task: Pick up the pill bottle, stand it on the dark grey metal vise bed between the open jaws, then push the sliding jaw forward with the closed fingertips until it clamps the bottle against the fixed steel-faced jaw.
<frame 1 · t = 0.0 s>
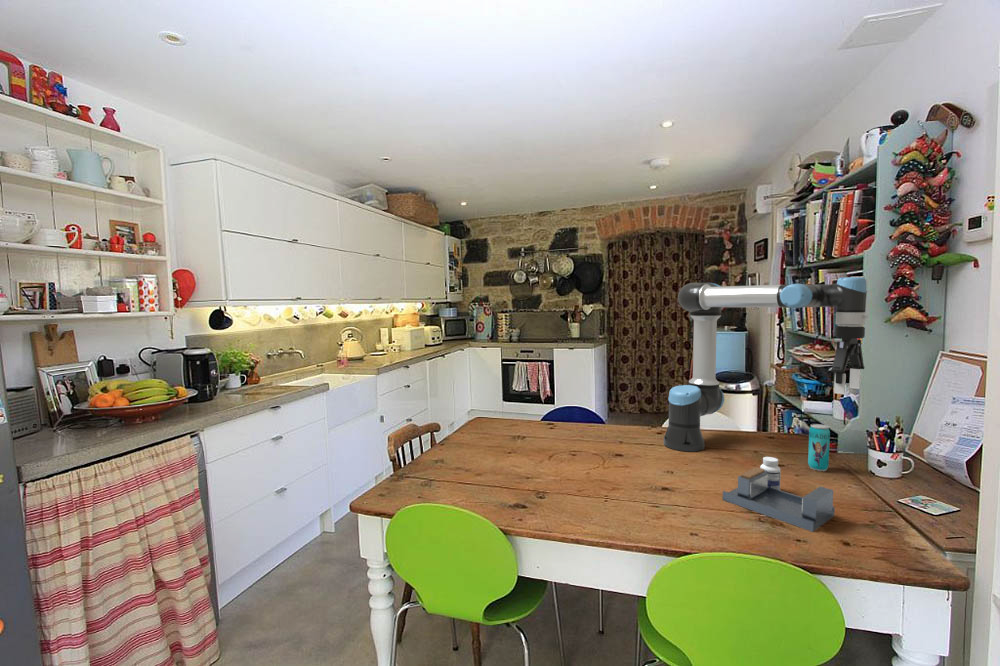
hand: (847, 391, 148), 28 cm above the table, fingers open, 13 cm apart
sliding jaw: (753, 483, 132), point 5 cm above the table, slide at 0.0 cm
vise bed: (776, 507, 127), on the table
pill bottle: (769, 490, 139), on the table
beverage can: (817, 469, 156), on the table
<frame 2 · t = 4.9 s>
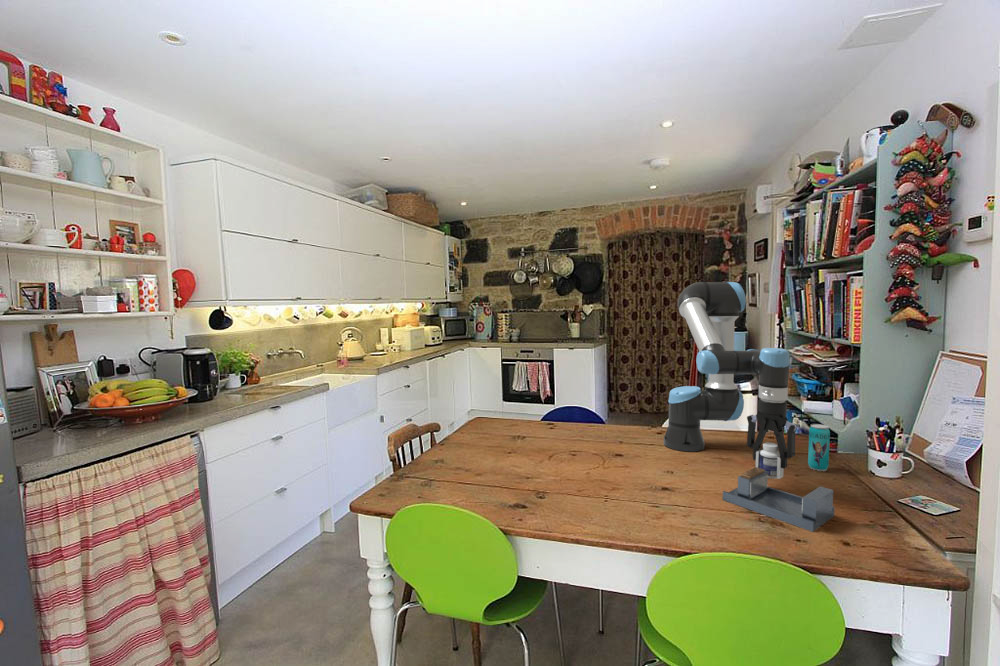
hand: (769, 474, 139), 5 cm above the table, fingers closed on pill bottle, 5 cm apart
pill bottle: (769, 475, 140), point 4 cm above the table, touching gripper
everything else where it was.
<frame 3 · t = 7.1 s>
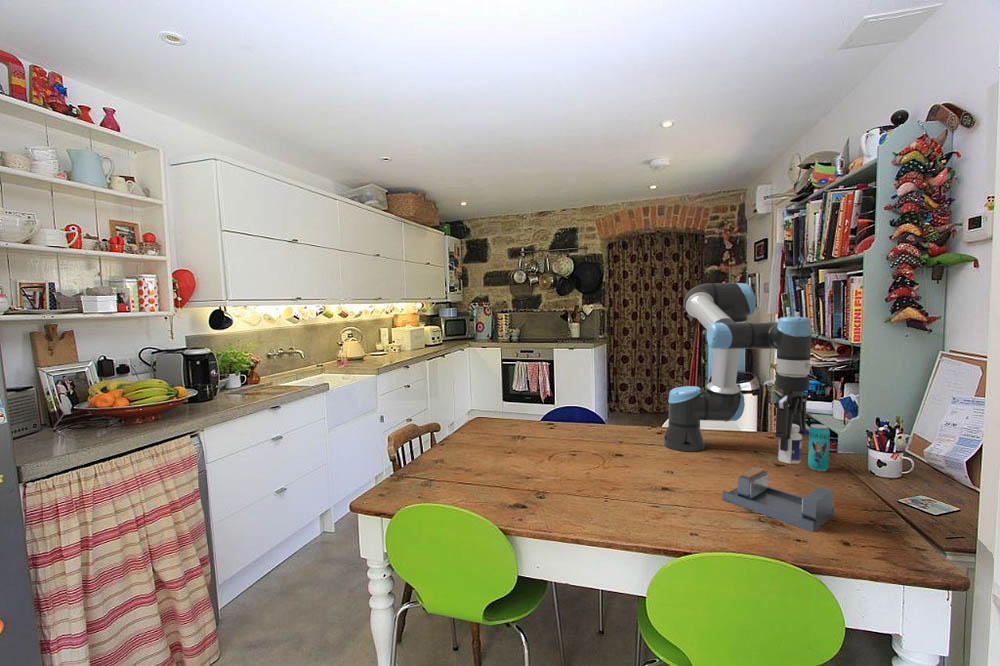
hand: (789, 459, 124), 15 cm above the table, fingers closed on pill bottle, 5 cm apart
pill bottle: (789, 461, 124), point 14 cm above the table, touching gripper
everything else where it was.
when the fingers open (3 cm above the table, at t = 9.4 s): pill bottle stays where it is, resting on vise bed.
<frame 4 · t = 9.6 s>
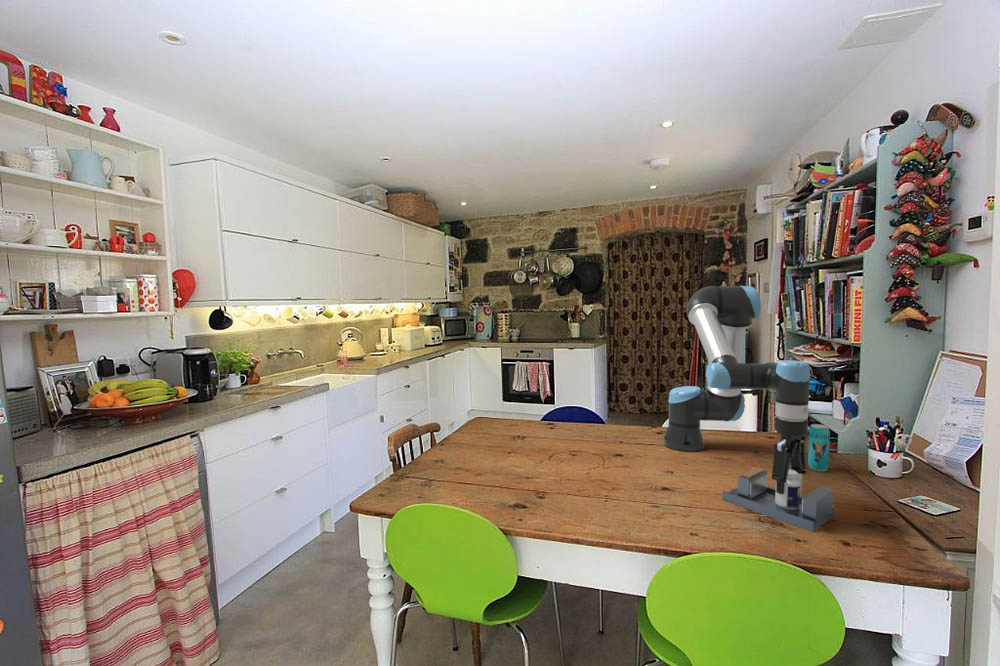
hand: (788, 500, 125), 3 cm above the table, fingers open, 8 cm apart
pill bottle: (787, 506, 125), point 1 cm above the table, touching vise bed
everything else where it was.
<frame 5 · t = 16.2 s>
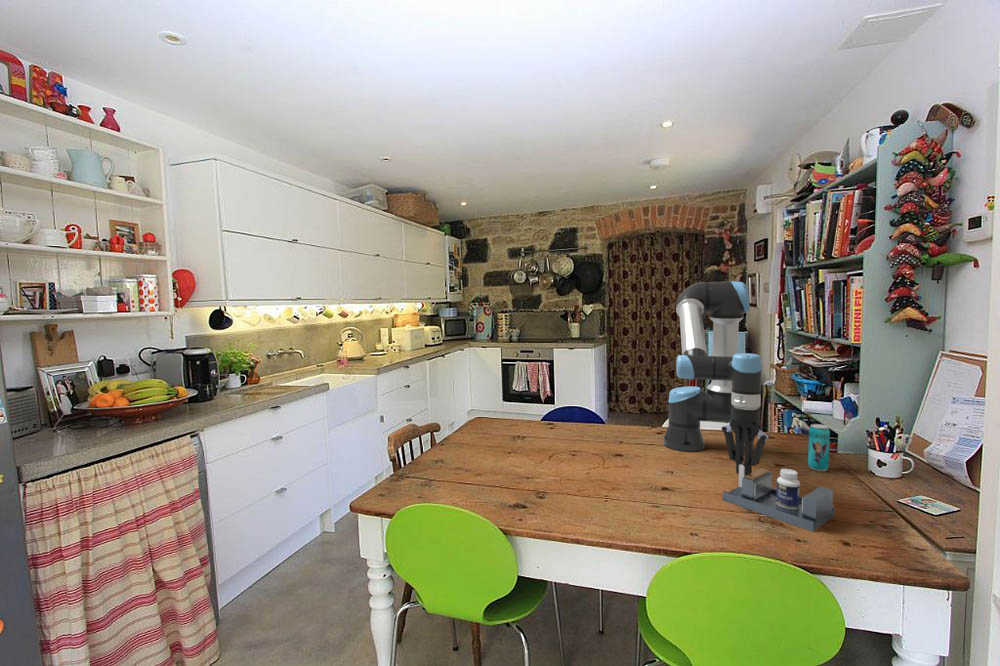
hand: (743, 485, 134), 3 cm above the table, fingers closed
sliding jaw: (757, 484, 131), point 5 cm above the table, slide at 1.2 cm, touching gripper
everything else where it was.
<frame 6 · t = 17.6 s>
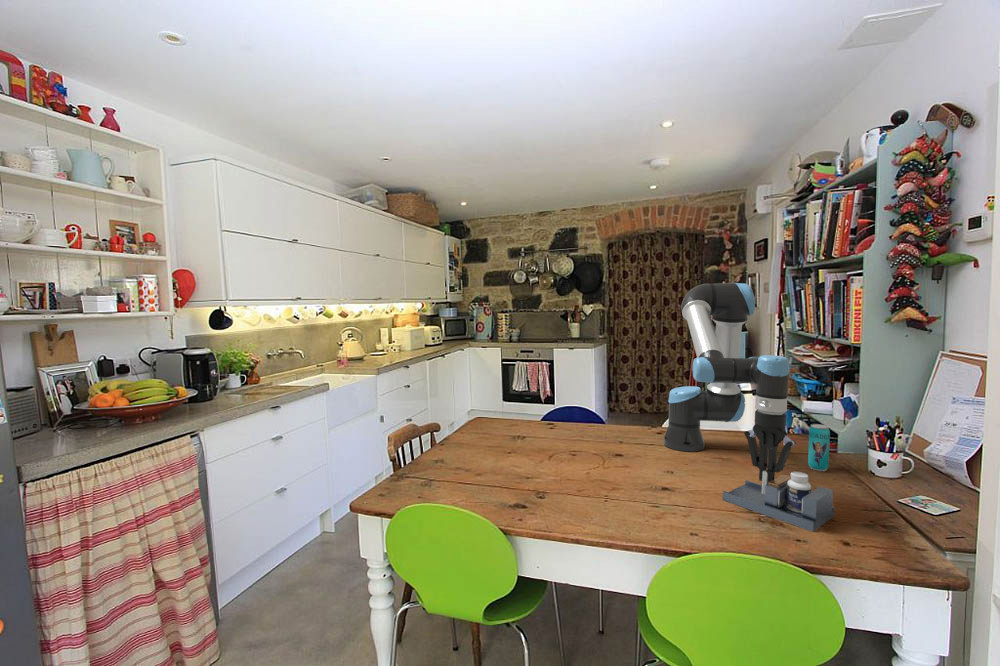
hand: (765, 493, 129), 3 cm above the table, fingers closed
sliding jaw: (780, 491, 126), point 5 cm above the table, slide at 7.3 cm, touching gripper, pill bottle
pill bottle: (798, 510, 123), point 1 cm above the table, touching sliding jaw, vise bed
everything else where it was.
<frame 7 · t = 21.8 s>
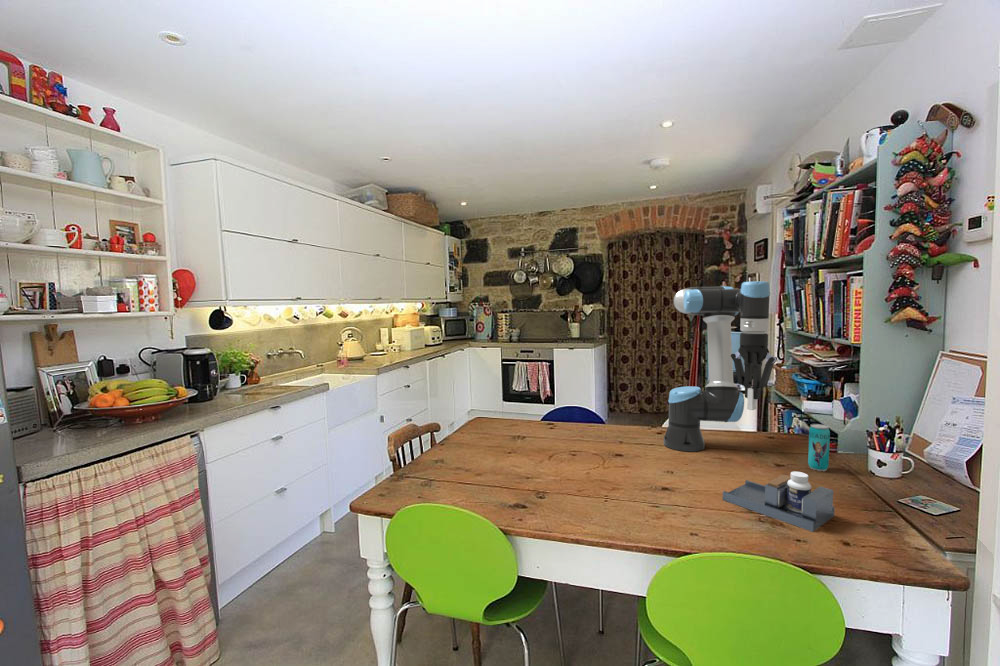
hand: (751, 409, 140), 24 cm above the table, fingers closed
sliding jaw: (780, 491, 126), point 5 cm above the table, slide at 7.3 cm
pill bottle: (798, 510, 123), point 1 cm above the table, touching vise bed
everything else where it was.
at the end: sliding jaw slide at 7.3 cm; pill bottle 0.6 cm from the target spot, point 1.3 cm above the table; pill bottle tilted 0° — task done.
